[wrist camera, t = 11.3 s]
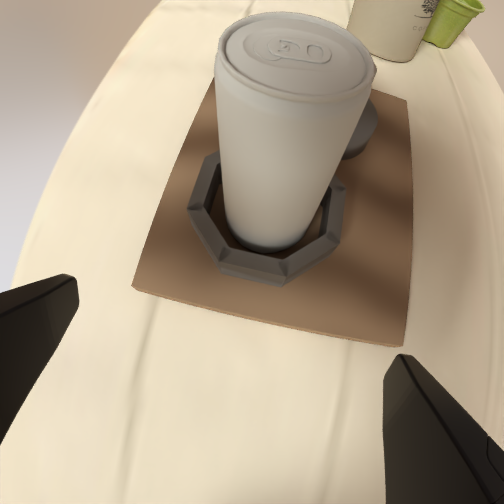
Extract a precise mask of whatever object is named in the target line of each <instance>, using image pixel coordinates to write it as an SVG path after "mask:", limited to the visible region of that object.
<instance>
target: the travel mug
mask: <svg viewBox="0 0 504 504" xmlns="http://www.w3.org/2000/svg"><path fill="white" fill-rule="evenodd" d="M439 1H440V0H355V1H354V5H353V8H352V12H351V15H350V19H349V22H348V26H347V31H349V32H350V33H351V34H353V35H354V36H355V37H356V38H358V39H359V40H360V41H361V42H362V43H363V44H364V46H365V47H366V48H367V49H368V51H369V52H370V53H371V54H373V55H376V56H378V57H381V58H383V59H387V60H391V61H397V62H406V61H409V60H411V59H412V58H413V56H414V54H415V52H416V50H417V48H418V46H419V44H420V42H421V40H422V38H423V36H424V34H425V31H426V29H427V27H428V25H429V23H430V21H431V19H432V16H433V14H434V12H435V10H436V8H437V5H438V3H439Z"/></svg>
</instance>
